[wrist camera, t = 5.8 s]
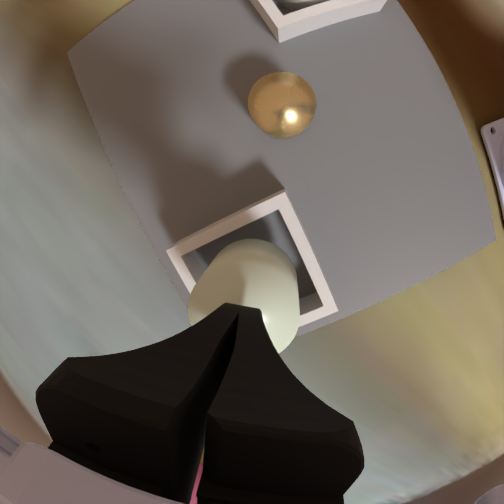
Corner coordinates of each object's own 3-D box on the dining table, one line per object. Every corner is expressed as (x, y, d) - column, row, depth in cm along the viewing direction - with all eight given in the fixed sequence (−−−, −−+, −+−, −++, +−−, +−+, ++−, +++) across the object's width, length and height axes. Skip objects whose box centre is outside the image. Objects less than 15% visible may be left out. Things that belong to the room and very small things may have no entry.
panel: (327, -63, 11) (331, -91, 8) (484, 234, 16) (513, 248, 13) (78, 57, 15) (48, 46, 12) (226, 349, 20) (215, 381, 17)
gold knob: (295, 76, 14) (296, 61, 11) (321, 125, 14) (328, 118, 12) (243, 100, 14) (236, 89, 12) (269, 148, 15) (267, 146, 13)
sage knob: (273, 223, 14) (269, 243, 11) (310, 301, 15) (316, 340, 12) (193, 261, 15) (168, 289, 12) (234, 331, 16) (221, 373, 12)
